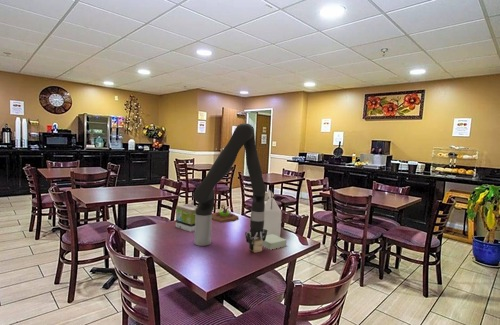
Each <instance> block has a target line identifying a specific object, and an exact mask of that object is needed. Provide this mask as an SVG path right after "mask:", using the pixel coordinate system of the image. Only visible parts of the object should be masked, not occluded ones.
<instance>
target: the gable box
mask: <svg viewBox="0 0 500 325" xmlns="http://www.w3.org/2000/svg"><path fill="white" fill-rule="evenodd" d="M274 197H275V194H274V193H273V191H272V190H270V189H269V188H268V189H267V193H266V192H265V200H264V201H265V209H264V214H265V216H264V228H263V229H266V230H267V235H270V234H274V235H276V236H279V237H281V228H282V214H283V211H282V210H281V208H280V207H279V205H278V203H277V201H276V200H275V198H274Z"/></svg>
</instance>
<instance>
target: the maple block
mask: <svg viewBox="0 0 500 325" xmlns="http://www.w3.org/2000/svg"><path fill="white" fill-rule="evenodd" d="M262 241H263V240H260V239H258V238H256V239H255V240H254V243H253V244H254V245H253V251H251V250H250V249H249V248H248V249H249V251H251V252H252V253H260V252H263V246H262ZM249 245H250V244H249V243H248V246H249Z"/></svg>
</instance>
